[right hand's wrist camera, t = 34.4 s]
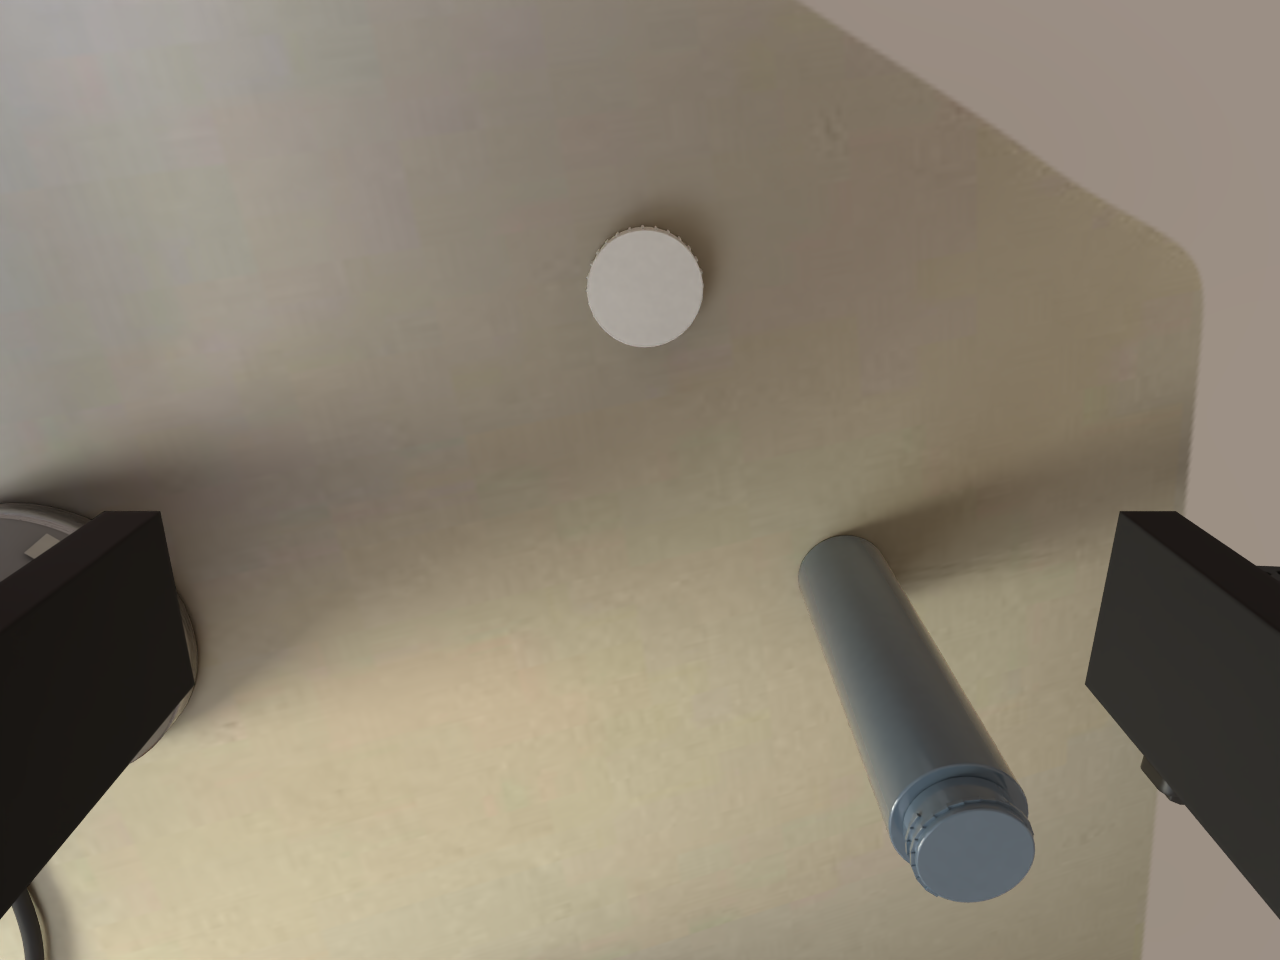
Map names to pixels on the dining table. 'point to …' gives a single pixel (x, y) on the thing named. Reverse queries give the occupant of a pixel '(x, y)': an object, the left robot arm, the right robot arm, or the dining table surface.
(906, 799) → the jar
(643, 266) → the lid
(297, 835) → the dining table surface
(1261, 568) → the left robot arm
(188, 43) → the dining table surface
